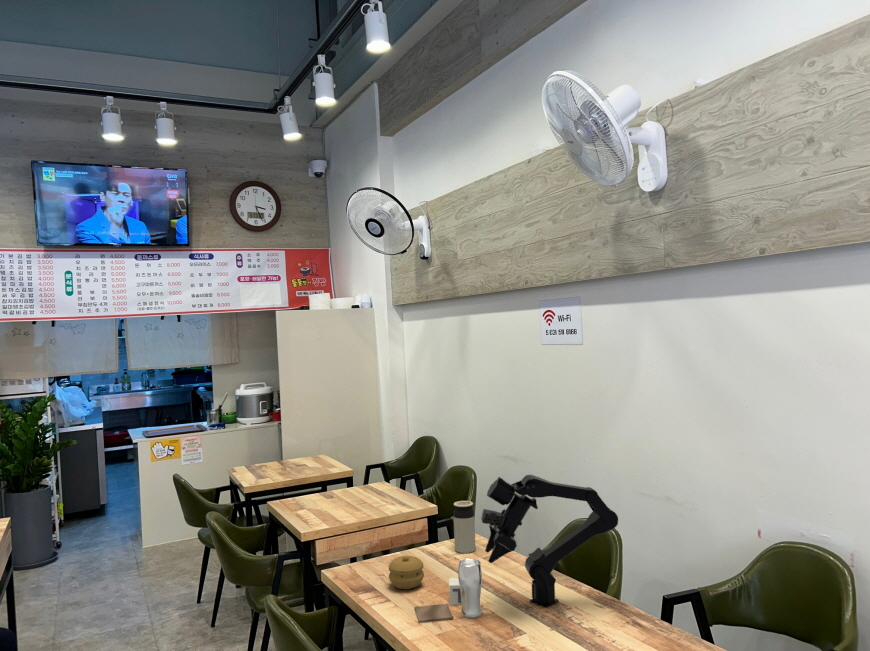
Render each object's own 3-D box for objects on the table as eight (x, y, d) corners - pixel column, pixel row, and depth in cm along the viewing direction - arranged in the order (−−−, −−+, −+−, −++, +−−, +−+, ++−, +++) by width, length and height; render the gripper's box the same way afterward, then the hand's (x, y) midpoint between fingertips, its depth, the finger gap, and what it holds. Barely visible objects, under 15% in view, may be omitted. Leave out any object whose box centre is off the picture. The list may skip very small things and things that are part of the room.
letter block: (469, 605, 197) (468, 585, 198) (449, 605, 198) (449, 585, 198) (469, 597, 204) (468, 577, 204) (450, 597, 204) (449, 578, 204)
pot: (384, 592, 210) (383, 561, 210) (395, 578, 222) (394, 549, 222) (419, 594, 207) (418, 562, 208) (428, 580, 219) (427, 550, 219)
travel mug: (479, 550, 247) (477, 503, 247) (462, 555, 243) (460, 507, 243) (468, 545, 254) (466, 499, 254) (451, 549, 250) (449, 502, 250)
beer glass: (484, 618, 187) (481, 566, 188) (460, 619, 188) (458, 567, 188) (482, 608, 194) (480, 558, 195) (459, 609, 195) (457, 558, 195)
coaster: (447, 605, 198) (447, 603, 198) (453, 619, 188) (453, 617, 188) (414, 608, 196) (414, 606, 196) (418, 622, 186) (418, 620, 186)
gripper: (489, 491, 206) (463, 533, 206) (496, 507, 188) (467, 553, 187) (518, 510, 207) (493, 551, 206) (528, 527, 188) (500, 573, 188)
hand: (487, 556), depth 197 cm, fingers open, 9 cm apart
